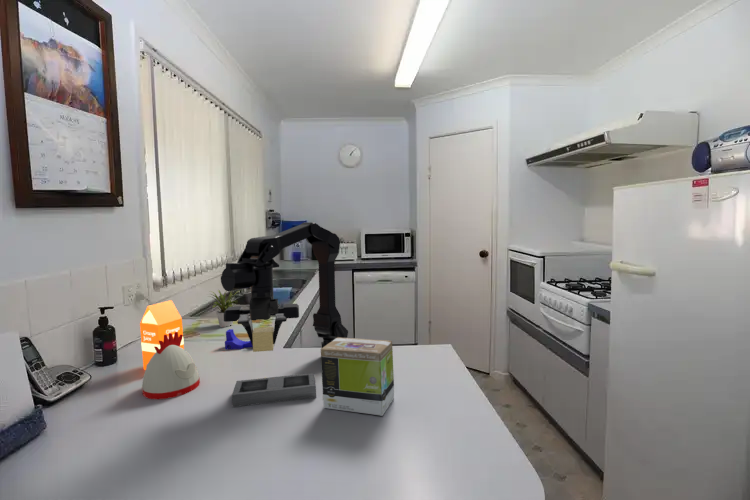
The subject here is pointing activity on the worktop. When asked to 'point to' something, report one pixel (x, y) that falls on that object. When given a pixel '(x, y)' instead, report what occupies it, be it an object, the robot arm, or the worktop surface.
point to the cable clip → (235, 341)
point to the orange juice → (159, 327)
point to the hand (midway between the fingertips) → (263, 344)
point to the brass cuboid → (263, 339)
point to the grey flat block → (274, 389)
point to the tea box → (358, 375)
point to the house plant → (223, 308)
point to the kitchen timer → (170, 371)
